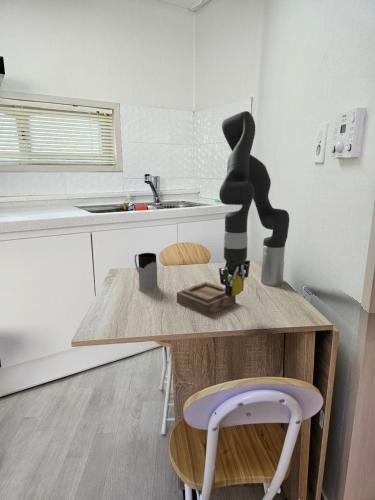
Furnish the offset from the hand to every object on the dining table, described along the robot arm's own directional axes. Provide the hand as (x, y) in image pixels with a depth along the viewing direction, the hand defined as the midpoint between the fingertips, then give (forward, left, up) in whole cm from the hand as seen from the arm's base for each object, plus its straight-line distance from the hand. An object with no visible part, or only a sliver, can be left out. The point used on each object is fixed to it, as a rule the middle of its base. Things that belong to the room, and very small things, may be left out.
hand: (234, 293), depth 105 cm
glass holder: (+4, -45, -9) cm, 47 cm away
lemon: (0, 0, -1) cm, 1 cm away
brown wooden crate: (-3, -15, -9) cm, 18 cm away
